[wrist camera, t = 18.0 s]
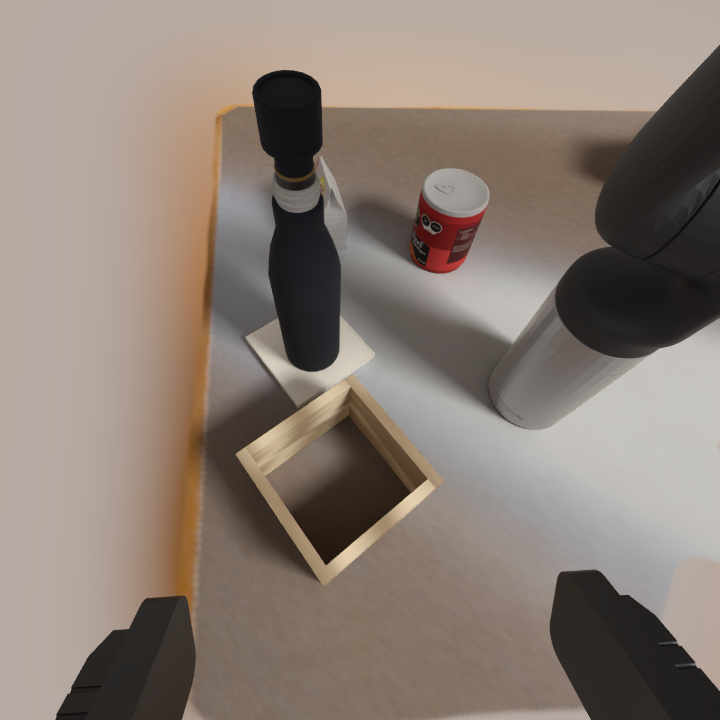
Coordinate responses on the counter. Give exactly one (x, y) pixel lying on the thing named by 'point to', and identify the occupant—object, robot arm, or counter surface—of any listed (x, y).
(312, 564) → the pine crate
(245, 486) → the counter surface
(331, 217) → the white paper bag
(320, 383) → the cream tile
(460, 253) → the canned food
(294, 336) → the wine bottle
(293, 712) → the counter surface
